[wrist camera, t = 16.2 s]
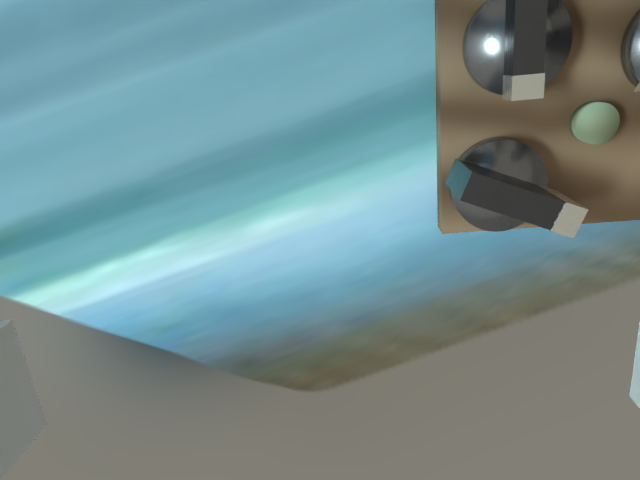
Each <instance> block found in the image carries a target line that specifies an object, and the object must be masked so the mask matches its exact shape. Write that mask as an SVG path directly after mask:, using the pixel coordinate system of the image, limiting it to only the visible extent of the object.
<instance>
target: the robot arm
mask: <svg viewBox="0 0 640 480" xmlns="http://www.w3.org/2000/svg"><path fill="white" fill-rule="evenodd" d="M630 397H631V399H632V400H633V401H634V402H635V403H636V404H637V406H638V407H639V408H640V323H639V331H638V338H637V345H636V353H635V360H634V367H633V375H632V382H631V389H630ZM46 425H47V422H46V419H45V417H44V413H43V410H42V407H41V404H40V401H39V398H38V395H37V392H36V389H35V386H34V383H33V380H32V377H31V374H30V371H29V368H28V365H27V362H26V359H25V356H24V353H23V351H22V347H21V344H20V341H19V338H18V335H17V332H16V329H15V327H14V323H13V320H3V321H0V480H2V479H3V477H4V476H5V475H6V474H7V472H8V471H9V470H10V469H11V468H12V466H13V465H14V464H15V463H16V462H17V460H18V459H19V458H20V457H21V455H22V454H23V453H24V452H25V451H26V449H27V448H28V447H29V446H30V445H31V443H32V442H33V441H34V440H35V438H36V437H37V436H38V435H39V434H40V432H41V431H42V430H43V429H44V427H45V426H46Z"/></svg>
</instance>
